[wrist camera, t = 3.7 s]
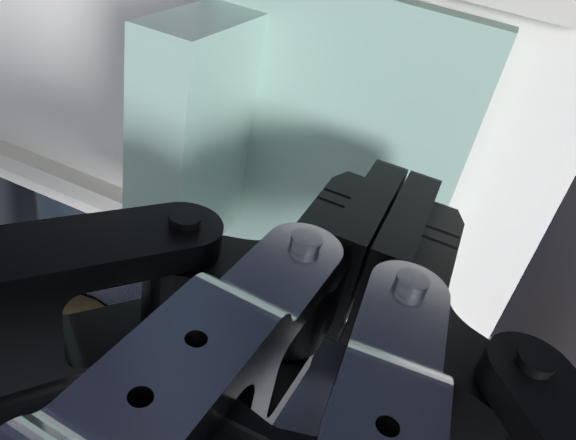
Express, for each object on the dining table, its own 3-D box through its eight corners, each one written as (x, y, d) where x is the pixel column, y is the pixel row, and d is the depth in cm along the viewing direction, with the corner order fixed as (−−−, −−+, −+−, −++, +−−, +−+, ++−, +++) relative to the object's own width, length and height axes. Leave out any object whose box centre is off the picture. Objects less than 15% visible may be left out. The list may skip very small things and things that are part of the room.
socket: (646, -60, 15) (703, -45, 10) (486, 270, 22) (467, 391, 16) (63, -187, 20) (-120, -224, 14) (75, 117, 26) (-48, 172, 21)
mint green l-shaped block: (518, 26, 12) (508, 74, 8) (409, 300, 16) (373, 405, 13) (233, -49, 14) (125, -35, 10) (203, 218, 18) (120, 292, 14)
